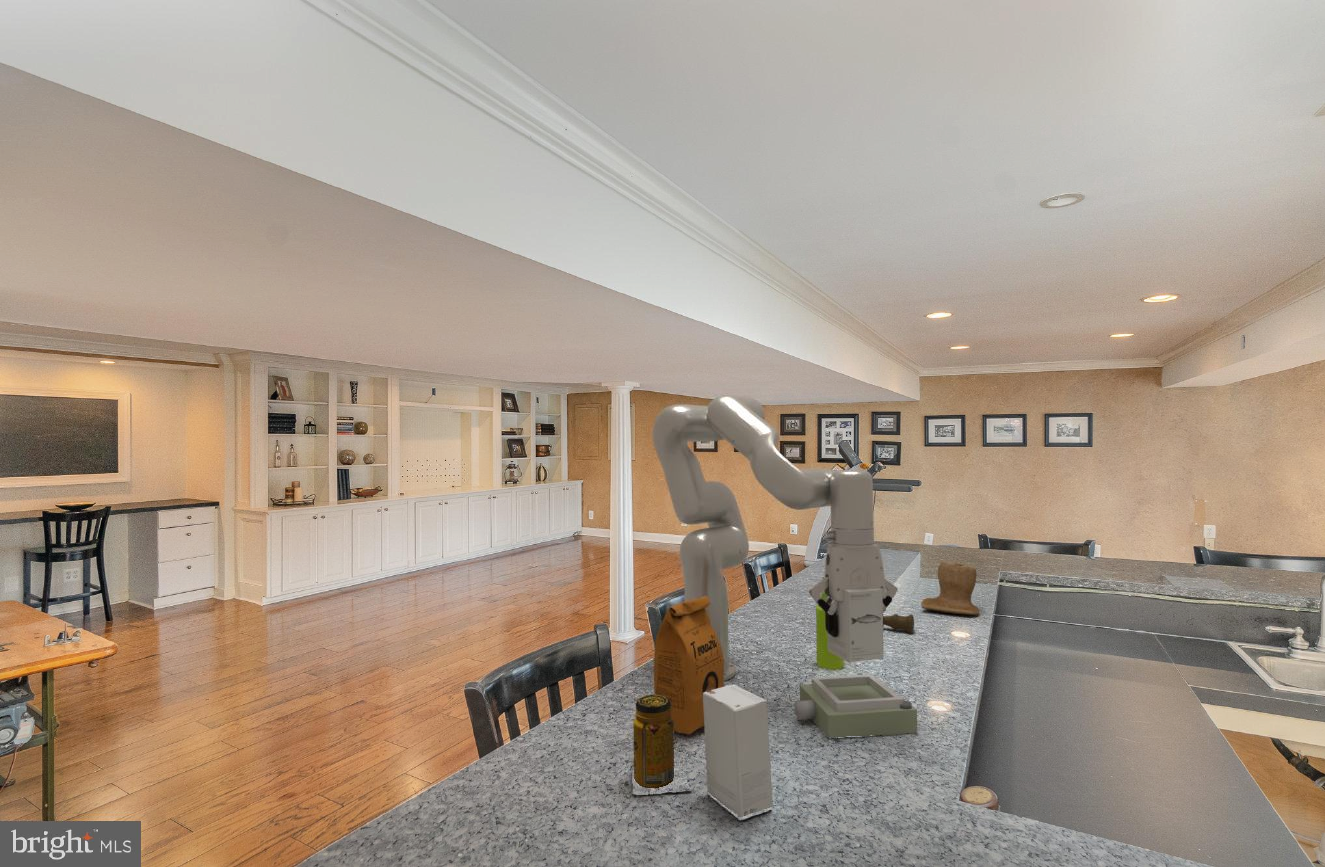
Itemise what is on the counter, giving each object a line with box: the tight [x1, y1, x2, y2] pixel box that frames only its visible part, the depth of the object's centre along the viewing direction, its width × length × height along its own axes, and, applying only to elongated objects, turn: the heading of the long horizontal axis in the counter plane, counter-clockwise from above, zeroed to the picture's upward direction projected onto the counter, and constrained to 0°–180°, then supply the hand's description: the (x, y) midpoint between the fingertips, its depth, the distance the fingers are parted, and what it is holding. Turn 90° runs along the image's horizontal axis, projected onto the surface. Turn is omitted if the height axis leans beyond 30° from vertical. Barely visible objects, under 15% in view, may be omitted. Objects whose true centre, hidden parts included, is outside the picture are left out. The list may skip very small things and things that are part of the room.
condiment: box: [632, 694, 675, 788], centre depth 92 cm, size 7×8×12 cm
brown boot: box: [920, 560, 980, 615], centre depth 186 cm, size 15×12×15 cm
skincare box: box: [703, 683, 774, 817], centre depth 87 cm, size 8×6×15 cm
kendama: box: [883, 613, 915, 635], centre depth 169 cm, size 6×10×20 cm
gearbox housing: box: [794, 674, 918, 739], centre depth 113 cm, size 19×14×6 cm
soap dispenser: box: [815, 576, 845, 671], centre depth 141 cm, size 6×7×20 cm
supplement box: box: [827, 589, 885, 664], centre depth 113 cm, size 7×7×13 cm
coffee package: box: [653, 596, 725, 735], centre depth 112 cm, size 10×12×22 cm
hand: (854, 633), depth 113 cm, fingers closed on supplement box, 7 cm apart
